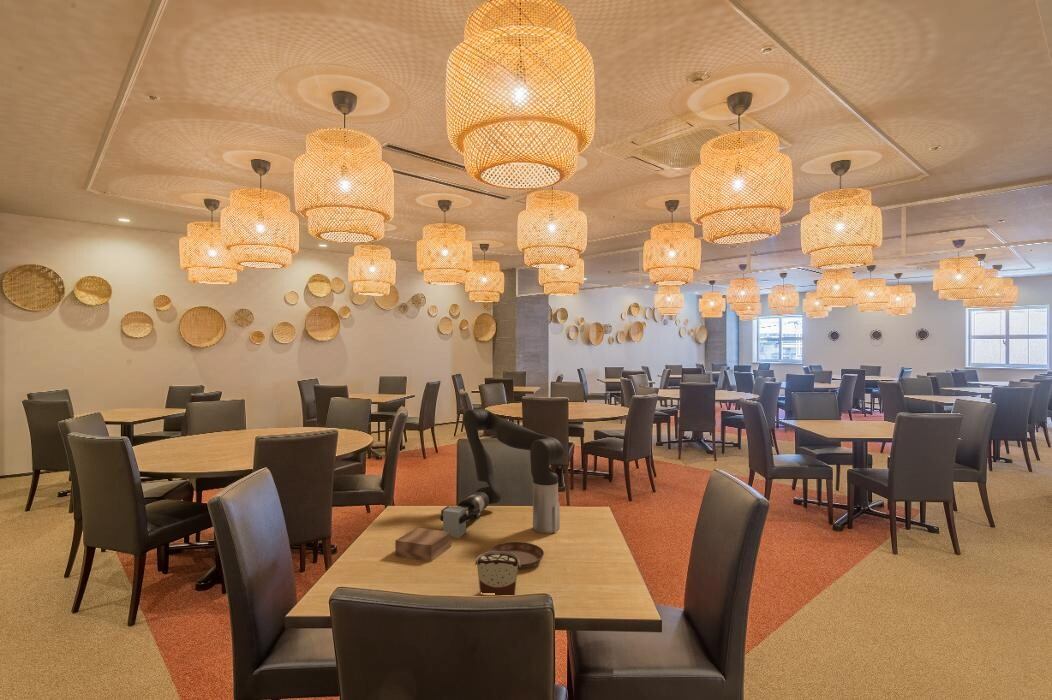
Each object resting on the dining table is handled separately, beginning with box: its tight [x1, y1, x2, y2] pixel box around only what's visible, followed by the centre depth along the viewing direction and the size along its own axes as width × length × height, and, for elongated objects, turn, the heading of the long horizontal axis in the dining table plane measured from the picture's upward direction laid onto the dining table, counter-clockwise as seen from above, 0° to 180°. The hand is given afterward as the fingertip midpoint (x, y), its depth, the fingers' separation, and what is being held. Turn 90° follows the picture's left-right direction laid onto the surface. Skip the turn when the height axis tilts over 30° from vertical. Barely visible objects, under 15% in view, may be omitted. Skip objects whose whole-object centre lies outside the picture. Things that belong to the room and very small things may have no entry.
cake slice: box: [474, 551, 520, 596], centre depth 147 cm, size 12×6×10 cm, turn 84°
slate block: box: [442, 505, 467, 539], centre depth 192 cm, size 6×6×9 cm
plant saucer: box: [487, 541, 545, 571], centre depth 168 cm, size 18×18×3 cm
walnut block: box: [394, 527, 452, 562], centre depth 175 cm, size 13×13×5 cm
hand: (451, 519), depth 189 cm, fingers open, 7 cm apart
